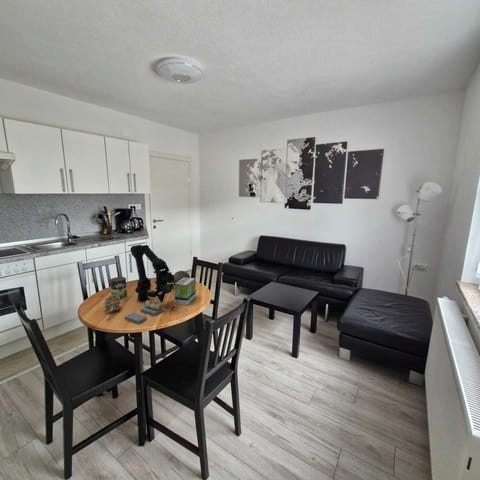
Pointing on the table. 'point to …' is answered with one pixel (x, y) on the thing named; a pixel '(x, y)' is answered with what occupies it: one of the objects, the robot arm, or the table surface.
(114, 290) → the coffee can
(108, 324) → the table surface
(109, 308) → the pine cone
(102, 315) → the table surface
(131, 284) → the table surface
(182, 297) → the tea box
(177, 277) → the cantaloupe
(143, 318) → the slate board
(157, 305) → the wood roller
